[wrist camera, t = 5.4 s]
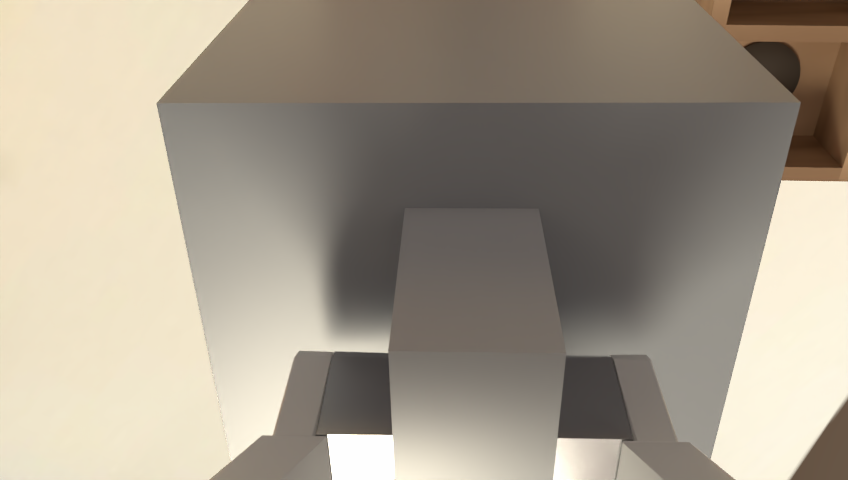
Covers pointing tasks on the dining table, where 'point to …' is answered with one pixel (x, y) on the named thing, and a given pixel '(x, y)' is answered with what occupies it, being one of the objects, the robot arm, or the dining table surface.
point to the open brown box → (800, 72)
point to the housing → (475, 209)
